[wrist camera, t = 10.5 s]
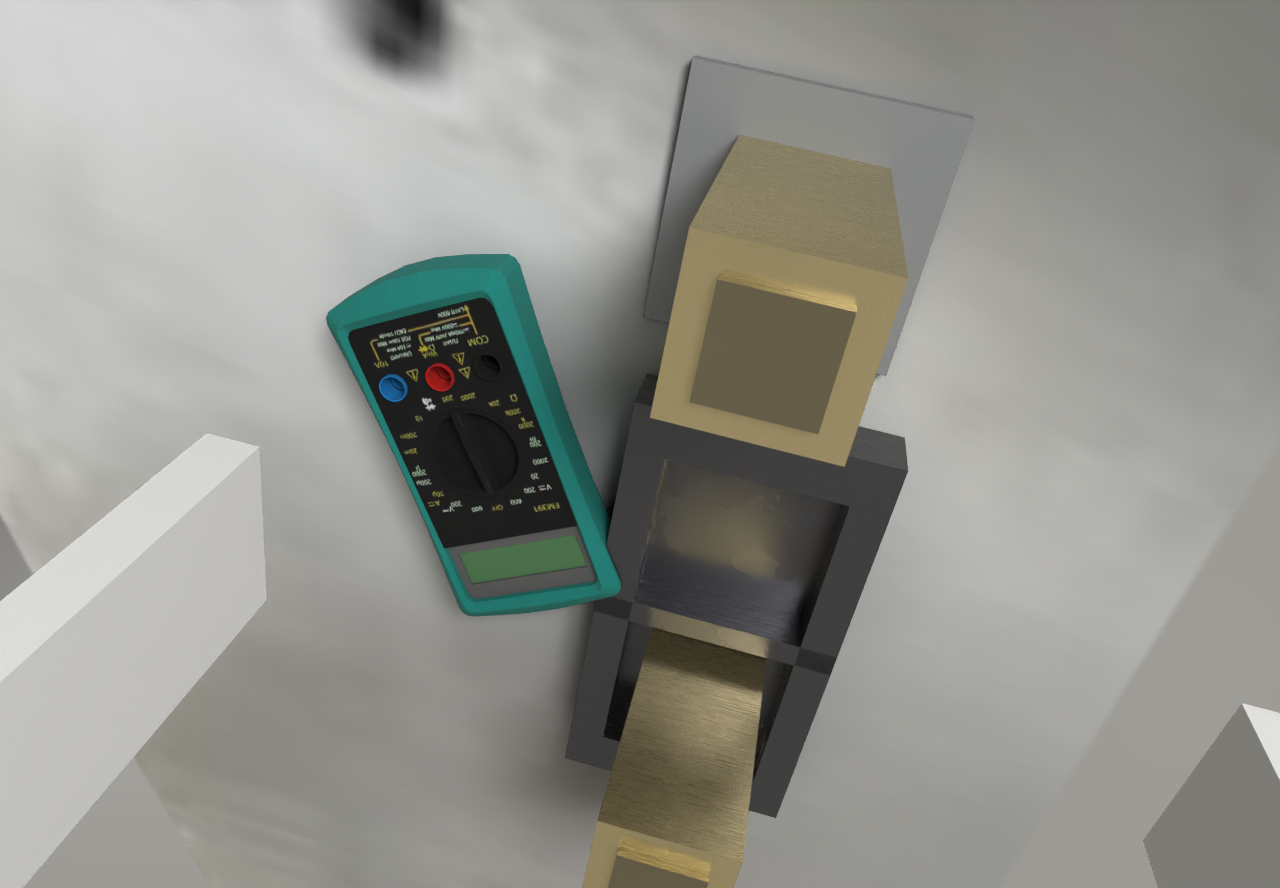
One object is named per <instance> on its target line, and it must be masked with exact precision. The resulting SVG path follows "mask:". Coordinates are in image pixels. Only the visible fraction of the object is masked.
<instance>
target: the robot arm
mask: <svg viewBox="0 0 1280 888" xmlns="http://www.w3.org/2000/svg"><path fill="white" fill-rule="evenodd" d="M266 600H267V595H266V575H265V554H264V534H263V513H262V492H261V472H260V451H259V447H258V446H254V445H250V444H246V443H242V442H239V441H235V440H231V439H227V438H223V437H219V436H216V435H212V434H208V433H207V434H205V435H204V436H203V437H202V438H200V439H199V440H198V441H197V442H195V443H194V444H193V445H192V446H191V447H189V448H188V449H187V450H186V451H184V452H183V453H182V454H181V455H179V456H178V457H177V458H176V459H175V460H173V461H172V462H171V463H170V464H168V465H167V466H166V467H165V468H164V469H162V470H161V471H160V472H159V473H157V474H156V475H155V476H154V477H152V478H151V479H150V480H149V481H148V482H146V483H145V484H144V485H143V486H141V487H140V488H139V489H138V490H136V491H135V492H134V493H133V494H132V495H130V496H129V497H128V498H127V499H125V500H124V501H123V502H122V503H121V504H119V505H118V506H117V507H116V508H114V509H113V510H112V511H111V512H109V513H108V514H107V515H106V516H105V517H103V518H102V519H101V520H100V521H98V522H97V523H96V524H95V525H93V526H92V527H91V528H90V529H89V530H87V531H86V532H85V533H84V534H82V535H81V536H80V537H79V538H78V539H76V540H75V541H74V542H73V543H71V544H70V545H69V546H68V547H66V548H65V549H64V550H63V551H62V552H60V553H59V554H58V555H57V556H55V557H54V558H53V559H52V560H50V561H49V562H48V563H47V564H46V565H44V566H43V567H42V568H41V569H39V570H38V571H37V572H36V573H35V574H33V575H32V576H31V577H30V578H28V579H27V580H26V581H25V582H23V583H22V584H21V585H20V586H19V587H17V588H16V589H15V590H14V591H12V592H11V593H10V594H9V595H7V596H6V597H5V598H4V599H3V600H1V601H0V888H23V887H24V886H25V885H26V884H27V882H28V881H29V880H30V879H31V878H32V877H33V875H34V874H35V873H36V872H37V871H38V869H39V868H40V867H41V866H42V865H43V864H44V862H45V861H46V860H47V859H48V858H49V856H50V855H51V854H52V853H53V852H54V851H55V849H56V848H57V847H58V846H59V845H60V843H61V842H62V841H63V840H64V839H65V838H66V836H67V835H68V834H69V833H70V832H71V830H72V829H73V828H74V827H75V826H76V825H77V823H78V822H79V821H80V820H81V819H82V817H83V816H84V815H85V814H86V813H87V811H88V810H89V809H90V808H91V807H92V806H93V804H94V803H95V802H96V801H97V800H98V799H99V797H100V796H101V795H102V794H103V793H104V791H105V790H106V789H107V788H108V787H109V786H110V784H111V783H112V782H113V781H114V780H115V778H116V777H117V776H118V775H119V774H120V772H121V771H122V770H123V769H124V767H126V765H127V764H128V763H129V762H130V761H131V759H132V758H133V757H134V756H135V755H136V754H137V752H138V751H139V750H140V749H141V748H142V747H143V745H144V744H145V743H146V742H147V741H148V739H149V738H150V737H151V736H152V735H153V734H154V732H155V731H156V730H157V729H158V728H159V726H160V725H161V724H162V723H163V722H164V721H165V719H166V718H167V717H168V716H169V715H170V713H171V712H172V711H173V710H174V709H175V708H176V706H177V705H178V704H179V703H180V702H181V700H182V699H183V698H184V697H185V696H186V695H187V693H188V692H189V691H190V690H191V689H192V687H193V686H194V685H195V684H196V683H197V682H198V680H199V679H200V678H201V677H202V676H203V674H204V673H205V672H206V671H207V670H208V669H209V667H210V666H211V665H212V664H213V663H214V661H215V660H216V659H217V658H218V657H219V656H220V654H221V653H222V652H223V651H224V650H225V648H226V647H227V646H228V645H229V644H230V643H231V641H232V640H233V639H234V638H235V637H236V635H237V634H238V633H239V632H240V631H241V630H242V628H243V627H244V626H245V625H246V624H247V622H248V621H249V620H250V619H251V618H252V616H253V615H254V614H255V613H256V612H257V611H258V609H259V608H260V607H261V606H262V605H263V603H264V602H265V601H266ZM1143 841H1144V844H1145V848H1146V851H1147V854H1148V857H1149V861H1150V864H1151V867H1152V870H1153V873H1154V876H1155V880H1156V883H1157V886H1158V888H1280V713H1277V712H1273V711H1269V710H1265V709H1262V708H1257V707H1254V706H1250V705H1246V704H1243V703H1242V704H1241V705H1240V707H1239V708H1238V709H1237V711H1236V712H1235V714H1234V715H1233V716H1232V718H1231V719H1230V721H1229V722H1228V723H1227V725H1226V726H1225V728H1224V729H1223V730H1222V732H1221V733H1220V734H1219V736H1218V737H1217V739H1216V740H1215V741H1214V743H1213V744H1212V745H1211V747H1210V748H1209V750H1208V751H1207V752H1206V754H1205V755H1204V757H1203V758H1202V759H1201V761H1200V762H1199V764H1198V765H1197V766H1196V768H1195V769H1194V771H1193V772H1192V773H1191V775H1190V776H1189V778H1188V779H1187V780H1186V782H1185V783H1184V784H1183V786H1182V787H1181V789H1180V790H1179V791H1178V793H1177V794H1176V795H1175V797H1174V798H1173V800H1172V801H1171V802H1170V804H1169V805H1168V807H1167V808H1166V809H1165V811H1164V812H1163V813H1162V815H1161V816H1160V818H1159V819H1158V820H1157V822H1156V823H1155V825H1154V826H1153V827H1152V829H1151V830H1150V832H1149V833H1148V834H1147V836H1146V837H1145V839H1144V840H1143Z"/></svg>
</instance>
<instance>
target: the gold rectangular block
mask: <svg viewBox="0 0 1280 888" xmlns="http://www.w3.org/2000/svg"><path fill="white" fill-rule="evenodd" d="M765 666H766V658H764V657H761V656H757V655H753V654H750V653H746V652H742V651H739V650H735V649H731V648H728V647H724V646H720V645H716V644H713V643H709V642H705V641H702V640H698V639H694V638H691V637H687V636H683V635H680V634H676V633H672V632H669V631H665V630H661V629H658V628H654V627H653V628H652V631H651V635H650V638H649V642H648V645H647V649H646V652H645V656H644V659H643V663H642V666H641V670H640V673H639V677H638V680H637V684H636V687H635V691H634V694H633V698H632V701H631V705H630V708H629V712H628V715H627V719H626V722H625V726H624V729H623V733H622V736H621V740H620V743H619V747H618V751H617V754H616V758H615V761H614V765H613V768H612V772H611V775H610V779H609V782H608V786H607V789H606V793H605V796H604V800H603V803H602V807H601V810H600V814H599V817H598V821H597V825H596V829H595V834H594V838H593V842H592V846H591V851H590V855H589V859H588V864H587V868H586V872H585V877H584V881H583V885H582V888H733V887H734V885H735V882H736V879H737V876H738V874H739V871H740V868H741V865H742V862H743V854H744V845H745V837H746V828H747V820H748V811H749V803H750V794H751V785H752V777H753V768H754V760H755V751H756V743H757V734H758V726H759V717H760V709H761V700H762V692H763V683H764V675H765Z"/></svg>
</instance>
